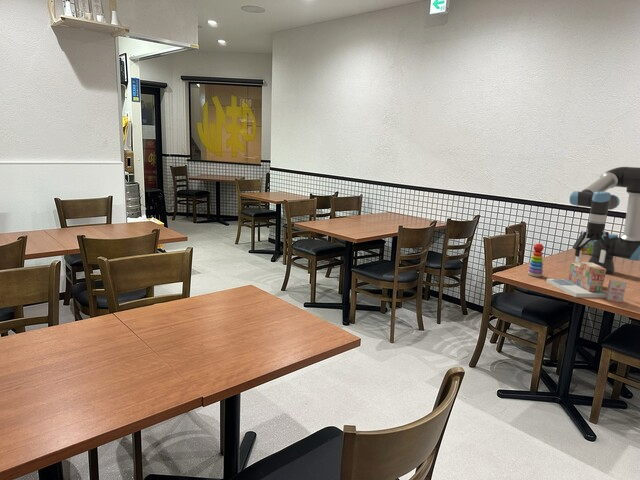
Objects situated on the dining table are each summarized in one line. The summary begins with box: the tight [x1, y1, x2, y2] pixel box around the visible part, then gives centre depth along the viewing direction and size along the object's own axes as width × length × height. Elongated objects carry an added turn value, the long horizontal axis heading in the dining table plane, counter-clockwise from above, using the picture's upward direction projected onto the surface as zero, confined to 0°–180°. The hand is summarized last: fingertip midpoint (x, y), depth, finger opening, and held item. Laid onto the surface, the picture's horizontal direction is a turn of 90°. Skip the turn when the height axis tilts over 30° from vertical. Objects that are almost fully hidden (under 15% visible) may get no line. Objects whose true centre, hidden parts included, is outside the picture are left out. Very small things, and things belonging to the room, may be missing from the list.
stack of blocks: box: [568, 261, 607, 292], centre depth 232 cm, size 21×6×12 cm, turn 177°
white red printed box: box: [605, 279, 627, 304], centre depth 217 cm, size 4×7×10 cm, turn 61°
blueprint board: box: [545, 278, 607, 299], centre depth 232 cm, size 18×24×2 cm
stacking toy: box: [527, 243, 544, 278], centre depth 254 cm, size 8×8×19 cm
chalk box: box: [581, 238, 594, 256], centre depth 322 cm, size 9×9×15 cm
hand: (589, 262), depth 230 cm, fingers open, 13 cm apart
